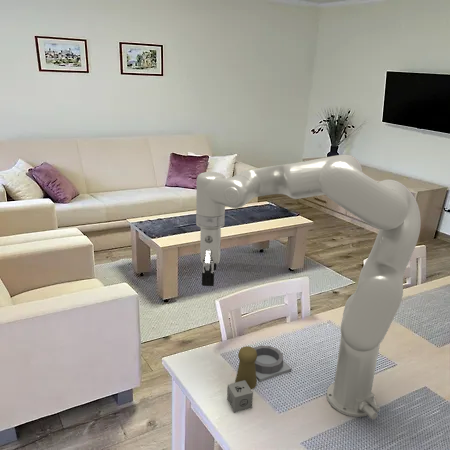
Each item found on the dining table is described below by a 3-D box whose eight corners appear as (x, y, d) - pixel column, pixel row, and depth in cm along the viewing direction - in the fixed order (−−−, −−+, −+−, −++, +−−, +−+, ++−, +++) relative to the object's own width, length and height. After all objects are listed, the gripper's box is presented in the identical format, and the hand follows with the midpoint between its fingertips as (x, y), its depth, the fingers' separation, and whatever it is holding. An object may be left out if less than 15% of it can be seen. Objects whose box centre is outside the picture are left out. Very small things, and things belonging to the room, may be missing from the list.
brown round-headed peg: (243, 372, 124) (245, 340, 120) (261, 382, 120) (263, 349, 116) (231, 383, 119) (232, 350, 116) (248, 393, 116) (250, 359, 112)
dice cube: (227, 399, 113) (227, 384, 112) (244, 395, 115) (244, 380, 114) (234, 413, 109) (235, 397, 107) (252, 408, 111) (253, 392, 109)
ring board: (291, 371, 125) (292, 361, 124) (259, 382, 120) (260, 372, 119) (270, 350, 134) (271, 341, 133) (240, 360, 129) (240, 350, 128)
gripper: (223, 231, 105) (221, 293, 111) (225, 210, 121) (223, 264, 127) (192, 229, 105) (192, 291, 111) (199, 208, 121) (198, 263, 127)
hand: (209, 277), depth 119 cm, fingers open, 9 cm apart
